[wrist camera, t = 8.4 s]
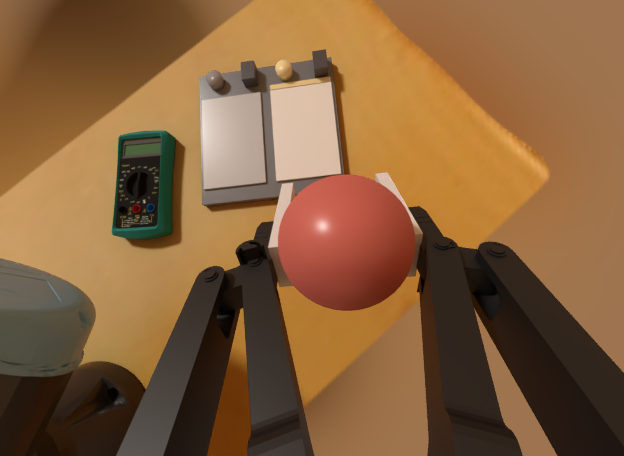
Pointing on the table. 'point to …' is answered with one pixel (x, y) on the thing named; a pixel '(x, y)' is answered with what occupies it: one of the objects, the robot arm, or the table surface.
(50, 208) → the table surface
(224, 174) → the board
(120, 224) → the digital multimeter
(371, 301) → the pink domed cylinder
